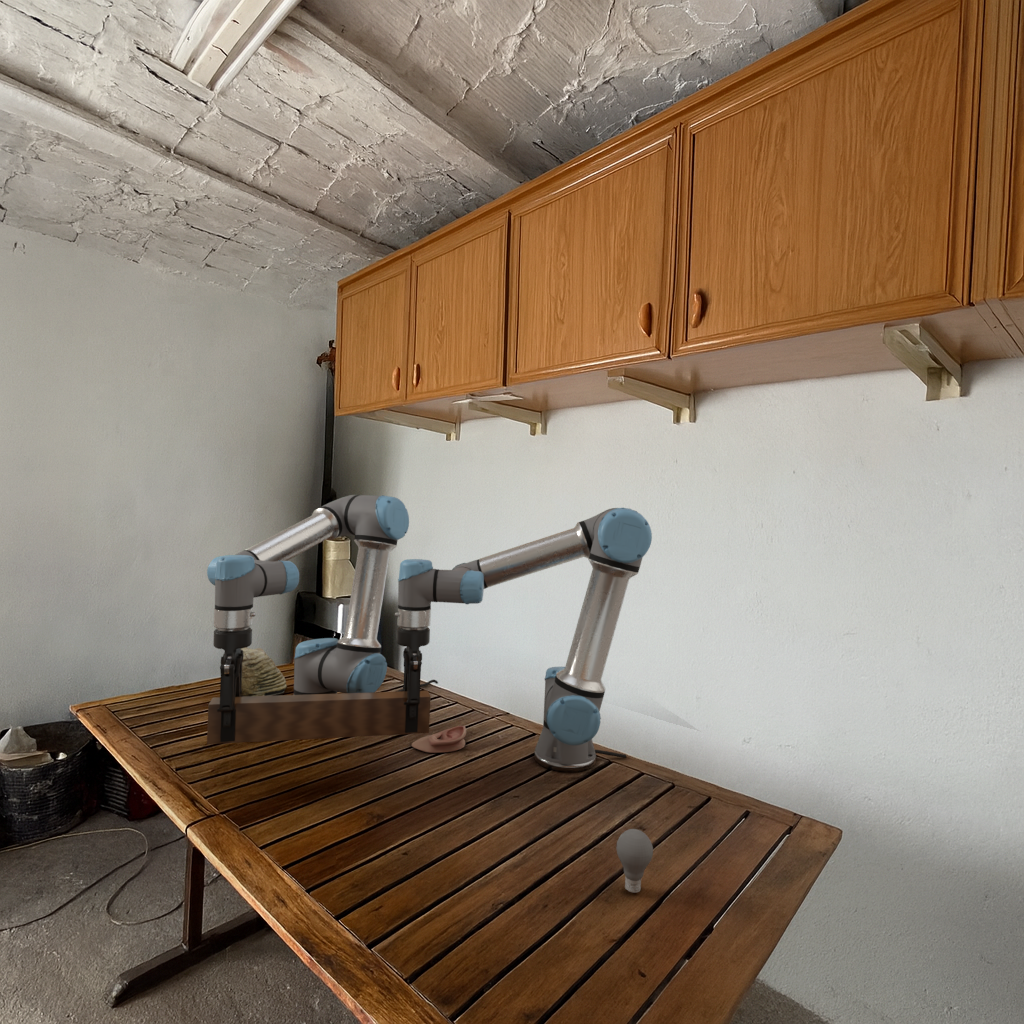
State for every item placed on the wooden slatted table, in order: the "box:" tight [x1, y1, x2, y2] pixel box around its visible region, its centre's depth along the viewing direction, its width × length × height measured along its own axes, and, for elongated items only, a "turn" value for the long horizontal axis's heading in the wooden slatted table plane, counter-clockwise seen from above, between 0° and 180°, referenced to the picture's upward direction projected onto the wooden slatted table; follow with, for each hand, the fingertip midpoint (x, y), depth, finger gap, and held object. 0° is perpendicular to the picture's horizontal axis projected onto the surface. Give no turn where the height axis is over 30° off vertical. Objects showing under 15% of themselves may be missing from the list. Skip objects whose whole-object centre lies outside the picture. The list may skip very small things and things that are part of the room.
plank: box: [206, 690, 431, 745], centre depth 141 cm, size 47×5×8 cm, turn 105°
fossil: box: [240, 647, 288, 697], centre depth 198 cm, size 9×18×15 cm, turn 132°
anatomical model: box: [411, 725, 467, 754], centre depth 164 cm, size 13×4×12 cm
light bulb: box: [615, 828, 654, 894], centre depth 106 cm, size 6×6×10 cm
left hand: (229, 735), depth 136 cm, fingers closed on plank, 5 cm apart
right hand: (410, 727), depth 146 cm, fingers closed on plank, 5 cm apart
